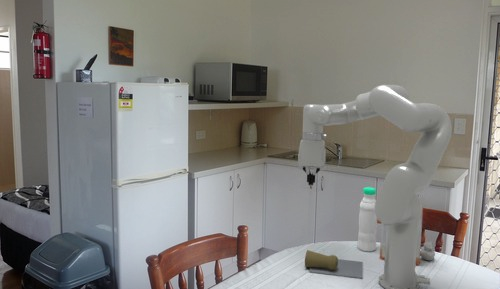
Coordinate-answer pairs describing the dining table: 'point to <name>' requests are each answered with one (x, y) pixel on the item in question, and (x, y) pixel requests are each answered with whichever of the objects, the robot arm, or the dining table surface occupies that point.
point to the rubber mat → (342, 269)
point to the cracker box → (383, 240)
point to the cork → (320, 260)
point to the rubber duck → (427, 251)
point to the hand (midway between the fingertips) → (310, 184)
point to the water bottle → (367, 221)
